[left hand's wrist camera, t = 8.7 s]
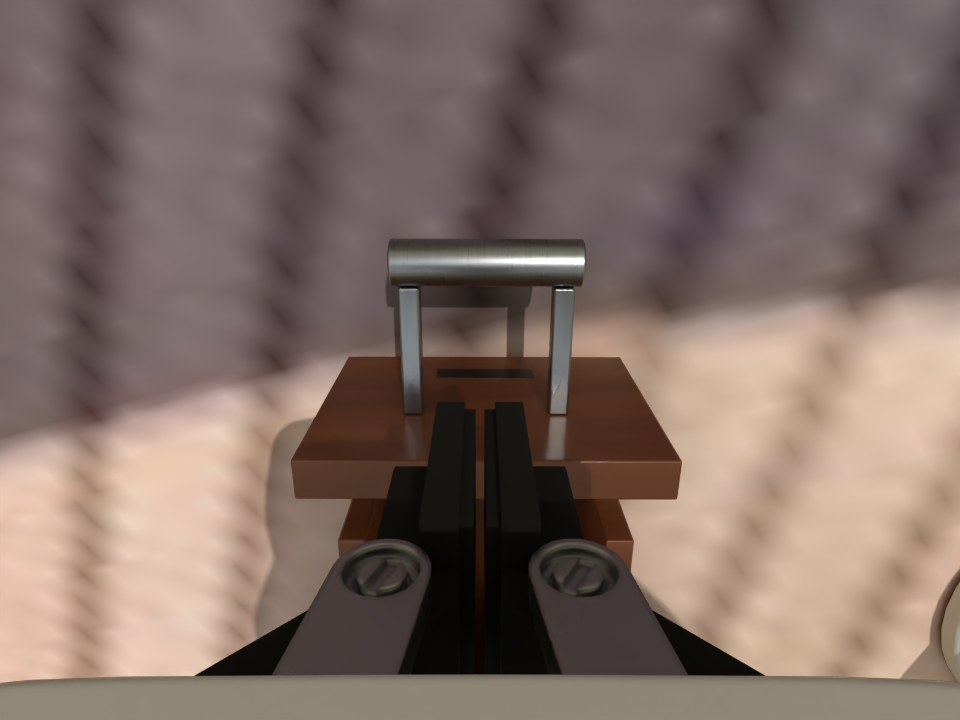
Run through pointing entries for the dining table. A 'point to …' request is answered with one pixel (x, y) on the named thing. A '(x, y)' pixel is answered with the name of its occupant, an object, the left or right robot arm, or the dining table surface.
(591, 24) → the dining table surface
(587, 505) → the drawer
